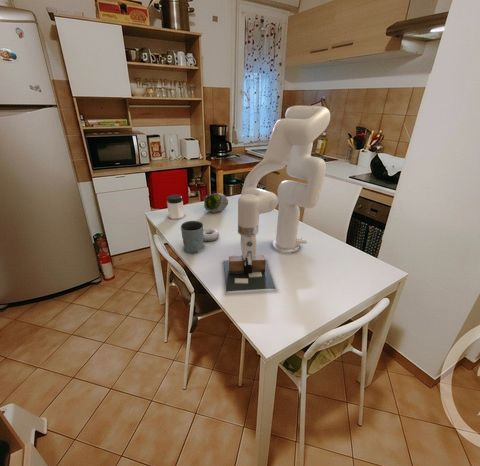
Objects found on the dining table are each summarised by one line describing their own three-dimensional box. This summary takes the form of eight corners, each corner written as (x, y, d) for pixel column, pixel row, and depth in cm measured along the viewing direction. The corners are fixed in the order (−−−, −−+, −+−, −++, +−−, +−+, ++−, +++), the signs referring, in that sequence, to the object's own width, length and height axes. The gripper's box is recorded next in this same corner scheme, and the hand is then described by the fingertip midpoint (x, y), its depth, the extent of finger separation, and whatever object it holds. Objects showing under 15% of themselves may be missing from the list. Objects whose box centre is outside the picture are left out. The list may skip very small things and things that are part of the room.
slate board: (265, 260, 113) (265, 258, 113) (275, 290, 96) (275, 288, 95) (223, 262, 112) (223, 260, 111) (226, 294, 94) (226, 291, 94)
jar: (176, 212, 159) (173, 193, 154) (186, 214, 156) (185, 195, 150) (165, 217, 152) (163, 198, 147) (176, 220, 149) (174, 200, 143)
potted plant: (232, 205, 161) (220, 206, 148) (217, 215, 167) (204, 218, 154) (223, 188, 162) (210, 188, 149) (208, 199, 168) (195, 200, 155)
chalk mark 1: (248, 279, 100) (248, 278, 99) (248, 284, 97) (248, 282, 97) (234, 279, 100) (234, 278, 99) (234, 283, 97) (234, 282, 97)
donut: (197, 234, 134) (200, 243, 126) (197, 228, 133) (200, 237, 124) (217, 232, 137) (221, 241, 128) (216, 226, 135) (220, 234, 127)
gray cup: (192, 241, 128) (190, 218, 122) (209, 246, 123) (208, 223, 118) (178, 250, 120) (175, 226, 115) (195, 256, 116) (193, 232, 110)
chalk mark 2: (260, 273, 103) (260, 271, 103) (261, 277, 101) (262, 275, 101) (248, 273, 103) (248, 272, 103) (249, 277, 101) (249, 276, 100)
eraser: (263, 266, 107) (263, 254, 104) (265, 272, 103) (265, 259, 101) (228, 268, 106) (228, 255, 103) (229, 274, 102) (229, 261, 99)
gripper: (262, 239, 89) (259, 282, 97) (254, 218, 103) (253, 257, 112) (240, 239, 88) (239, 283, 97) (235, 219, 103) (235, 258, 111)
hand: (246, 269), depth 104 cm, fingers closed on eraser, 4 cm apart
